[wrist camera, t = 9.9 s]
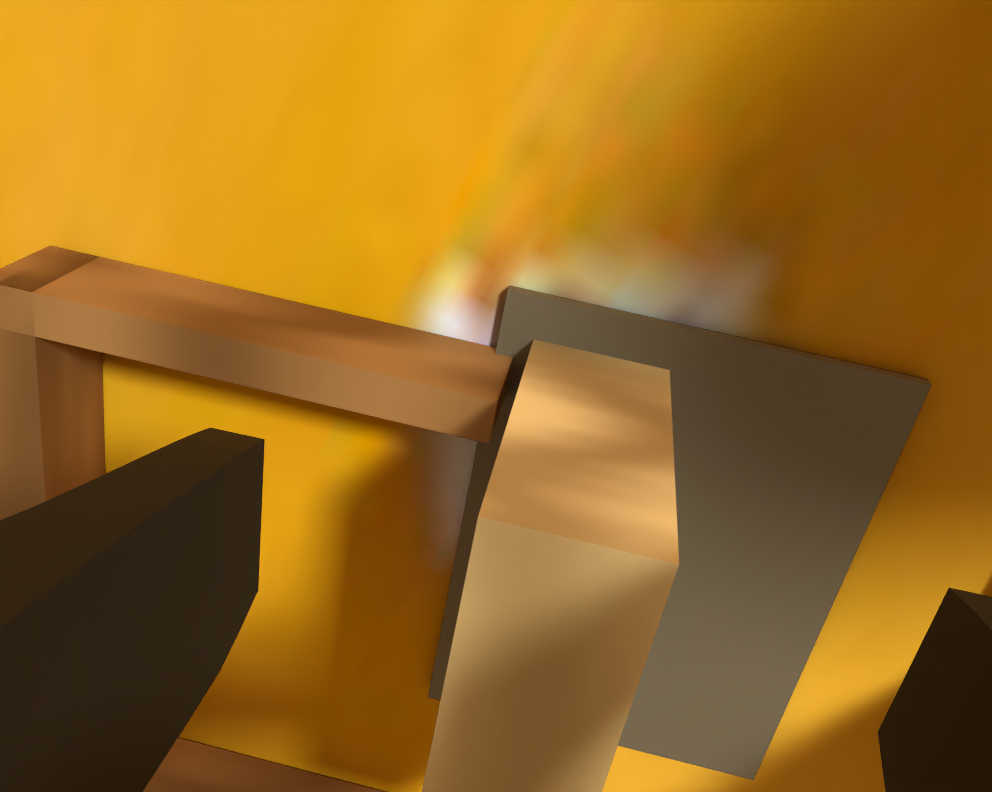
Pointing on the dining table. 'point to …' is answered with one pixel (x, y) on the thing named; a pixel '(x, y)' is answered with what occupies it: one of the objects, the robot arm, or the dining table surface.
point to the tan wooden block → (561, 579)
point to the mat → (727, 514)
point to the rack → (219, 355)
